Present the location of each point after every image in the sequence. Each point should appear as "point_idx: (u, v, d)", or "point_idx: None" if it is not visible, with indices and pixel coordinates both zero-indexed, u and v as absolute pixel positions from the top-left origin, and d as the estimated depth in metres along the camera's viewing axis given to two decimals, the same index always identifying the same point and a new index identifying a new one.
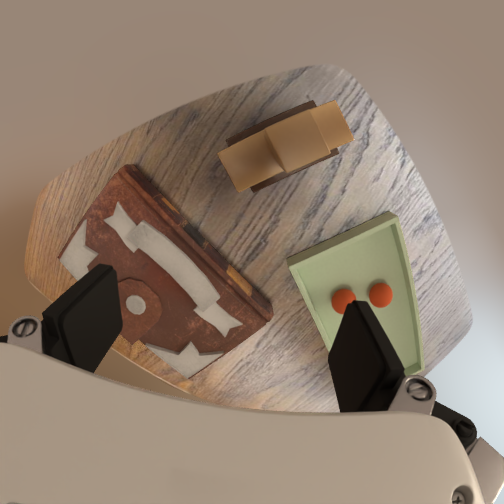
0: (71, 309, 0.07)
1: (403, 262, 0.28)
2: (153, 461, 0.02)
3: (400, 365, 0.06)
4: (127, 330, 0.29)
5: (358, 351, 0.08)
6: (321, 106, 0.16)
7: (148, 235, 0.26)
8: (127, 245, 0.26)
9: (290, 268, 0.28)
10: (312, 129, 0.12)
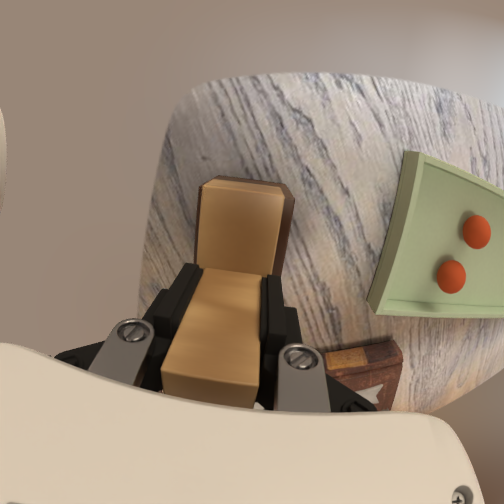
0: (182, 308, 0.08)
1: (467, 180, 0.16)
2: (153, 461, 0.02)
3: (283, 331, 0.07)
4: None
5: None
6: (202, 214, 0.11)
7: None
8: None
9: (378, 313, 0.20)
10: (199, 386, 0.06)
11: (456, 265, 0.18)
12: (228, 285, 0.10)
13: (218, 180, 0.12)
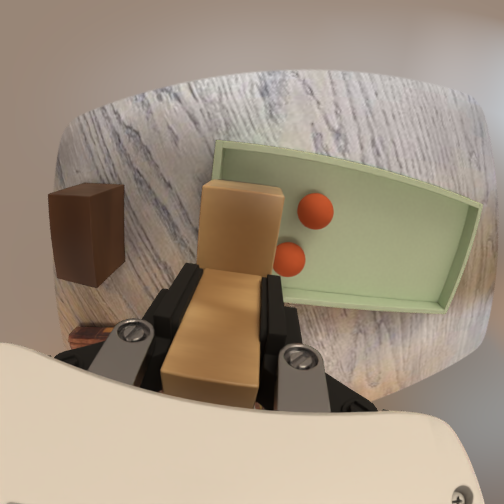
0: (182, 308, 0.08)
1: None
2: (153, 461, 0.02)
3: (283, 331, 0.07)
4: None
5: None
6: (202, 215, 0.11)
7: None
8: None
9: None
10: (198, 387, 0.06)
11: (286, 246, 0.22)
12: (228, 286, 0.10)
13: (218, 180, 0.12)
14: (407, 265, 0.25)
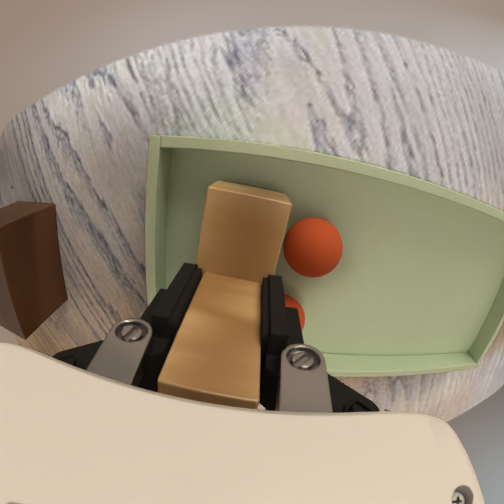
0: (180, 308, 0.08)
1: None
2: (153, 461, 0.02)
3: (285, 331, 0.07)
4: None
5: None
6: (205, 217, 0.10)
7: None
8: None
9: None
10: (197, 399, 0.06)
11: None
12: (228, 292, 0.10)
13: (223, 182, 0.11)
14: (440, 313, 0.16)
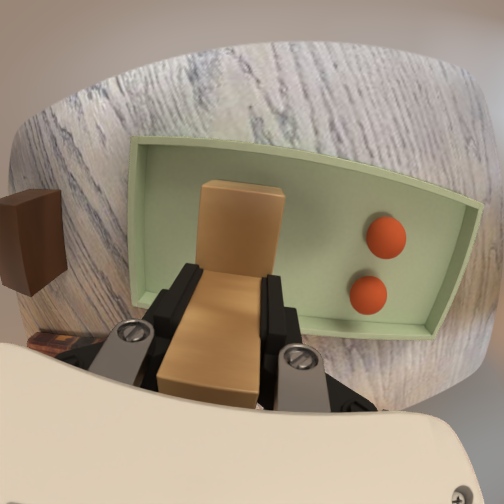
0: (182, 308, 0.08)
1: None
2: (153, 461, 0.02)
3: (283, 331, 0.07)
4: None
5: None
6: (200, 215, 0.10)
7: None
8: None
9: (134, 305, 0.20)
10: (196, 394, 0.06)
11: (375, 284, 0.18)
12: (227, 288, 0.10)
13: (217, 180, 0.12)
14: (383, 281, 0.20)
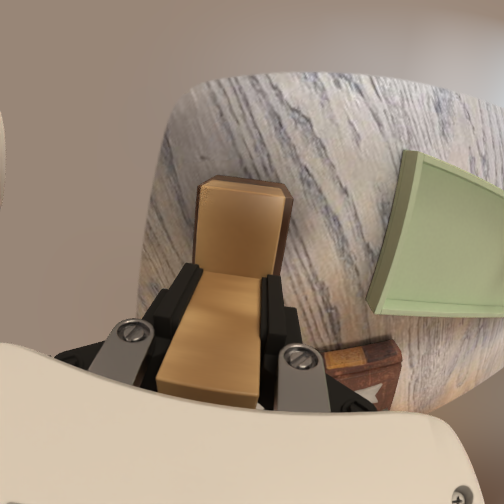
0: (182, 308, 0.08)
1: (466, 179, 0.16)
2: (153, 461, 0.02)
3: (283, 331, 0.07)
4: None
5: None
6: (200, 216, 0.10)
7: None
8: None
9: (377, 312, 0.20)
10: (196, 396, 0.06)
11: None
12: (227, 289, 0.10)
13: (217, 181, 0.11)
14: None
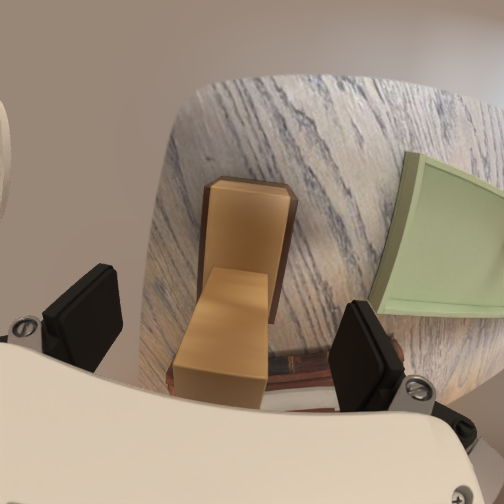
0: (71, 309, 0.07)
1: (467, 181, 0.17)
2: (153, 461, 0.02)
3: (400, 365, 0.06)
4: None
5: (358, 351, 0.08)
6: (210, 215, 0.11)
7: None
8: None
9: (379, 312, 0.20)
10: (210, 380, 0.06)
11: None
12: (235, 283, 0.10)
13: (225, 181, 0.12)
14: None
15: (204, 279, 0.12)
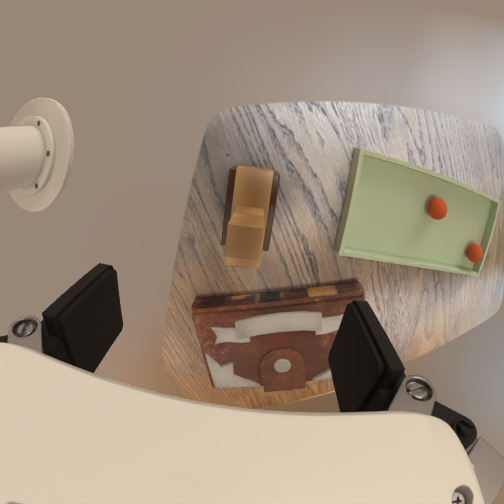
0: (71, 309, 0.07)
1: (400, 165, 0.29)
2: (153, 461, 0.02)
3: (400, 365, 0.06)
4: (293, 383, 0.37)
5: (358, 351, 0.08)
6: (236, 179, 0.23)
7: (247, 325, 0.34)
8: (242, 341, 0.36)
9: (340, 254, 0.32)
10: (242, 230, 0.18)
11: None
12: (248, 210, 0.22)
13: (242, 165, 0.24)
14: (455, 240, 0.33)
15: (231, 212, 0.24)
